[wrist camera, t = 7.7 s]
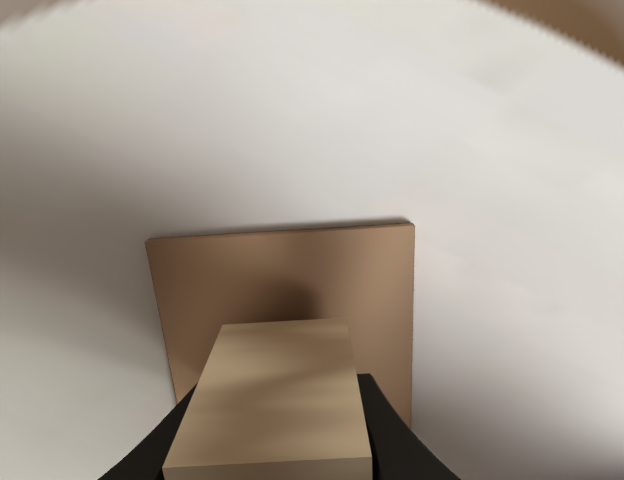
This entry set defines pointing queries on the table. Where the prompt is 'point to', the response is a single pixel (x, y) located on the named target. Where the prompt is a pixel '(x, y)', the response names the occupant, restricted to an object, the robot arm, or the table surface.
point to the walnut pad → (291, 294)
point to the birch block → (275, 407)
